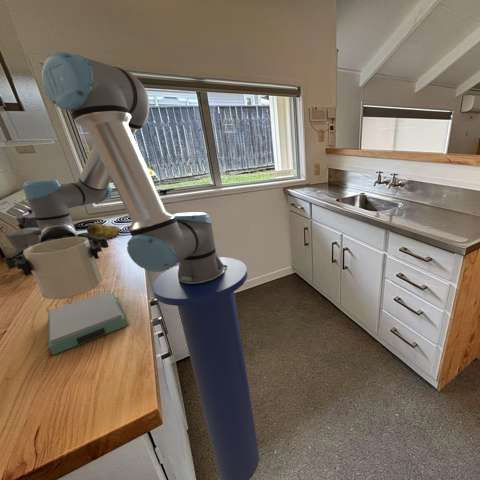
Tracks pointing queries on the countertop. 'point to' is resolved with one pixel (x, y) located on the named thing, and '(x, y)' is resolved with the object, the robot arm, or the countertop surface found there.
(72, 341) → the kitchen scale
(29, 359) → the countertop surface
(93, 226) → the potato
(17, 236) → the coffeepot
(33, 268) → the cream round pot
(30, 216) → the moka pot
